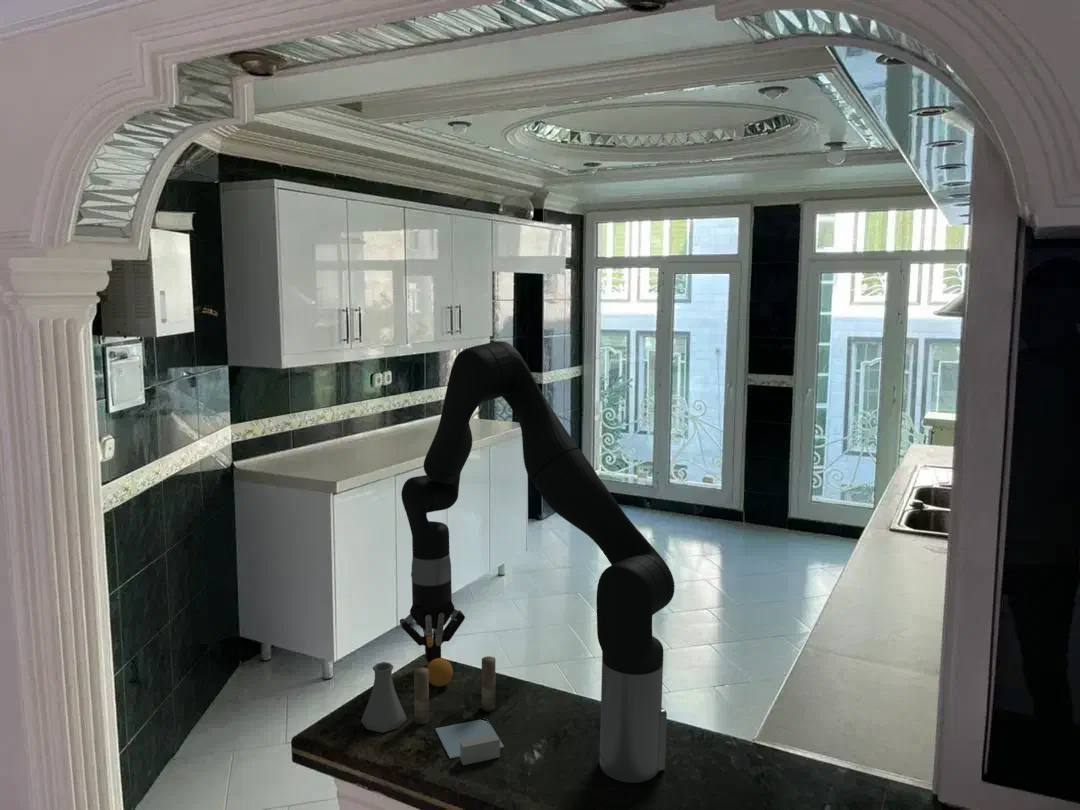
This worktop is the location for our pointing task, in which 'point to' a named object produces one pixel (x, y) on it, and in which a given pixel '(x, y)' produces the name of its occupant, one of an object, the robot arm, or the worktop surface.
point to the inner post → (488, 683)
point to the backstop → (479, 749)
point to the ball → (440, 672)
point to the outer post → (421, 695)
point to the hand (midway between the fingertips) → (433, 662)
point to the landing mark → (463, 735)
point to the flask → (383, 702)
